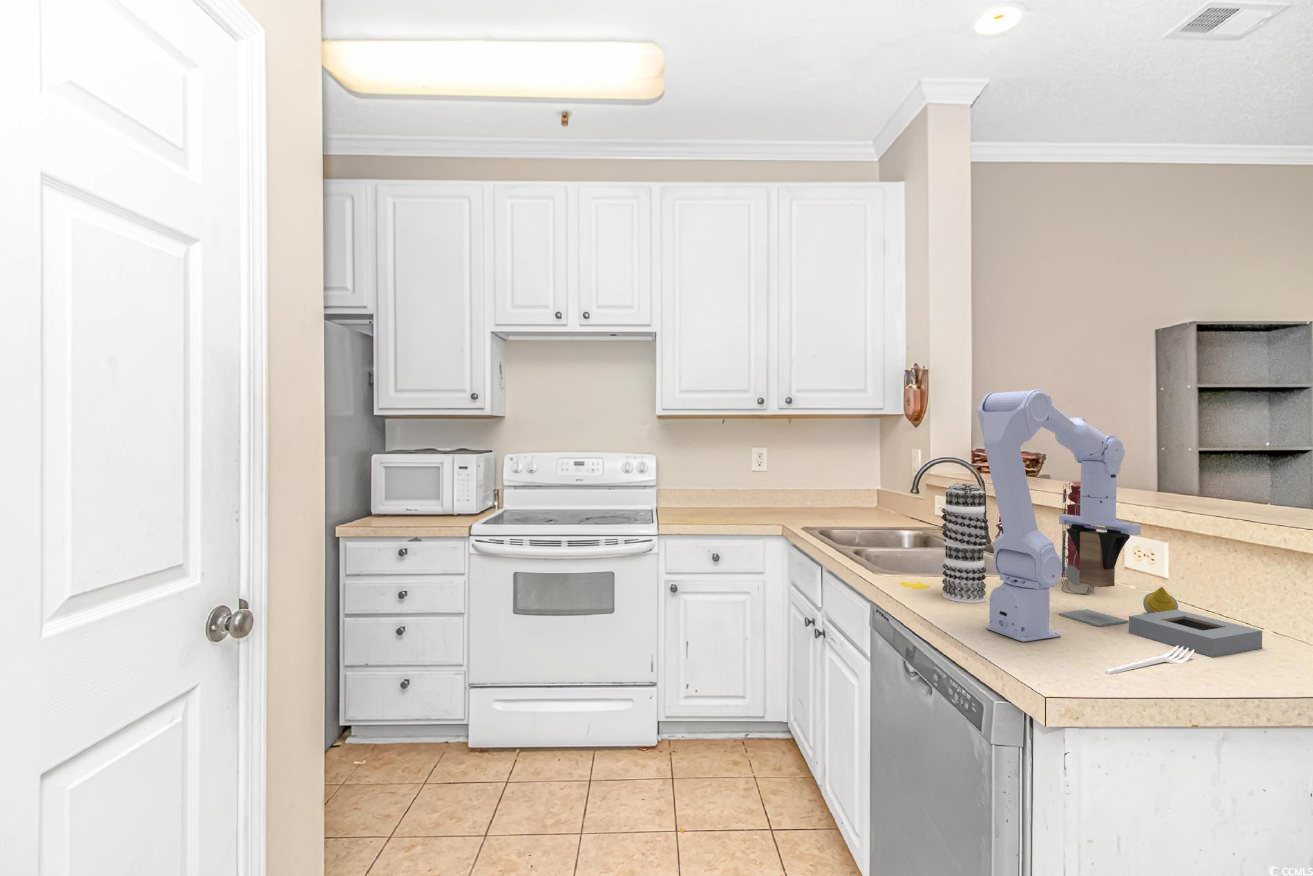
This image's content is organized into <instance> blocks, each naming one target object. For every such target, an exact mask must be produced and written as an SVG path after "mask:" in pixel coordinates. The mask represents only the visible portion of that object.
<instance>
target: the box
mask: <svg viewBox="0 0 1313 876" xmlns="http://www.w3.org/2000/svg"><path fill="white" fill-rule="evenodd" d="M1071 484H1072V485H1071ZM1064 486H1065V485H1063V486H1062V489H1063V495H1062V503H1063V504H1064V507H1063V513H1062V515H1064V514H1067V515H1076V516H1080V496H1081V495H1080V489H1081V481H1071V482H1068V484H1067V483H1066V486H1068V489H1069V493H1068V492H1067V488H1064ZM1067 499H1068V500H1069V501H1070V503H1069V504H1067ZM1072 502H1073V503H1072ZM1066 510H1067V511H1066ZM1061 525H1062V526H1061V527H1062V529H1061V530H1062V531H1061V533H1062V534H1061V535H1062V536H1061V537H1062V538H1061V540H1062V541H1061V542H1062V543H1061V549H1062V553H1061V562H1062V575H1061V579H1062V581H1064V582H1067V583H1066V584H1068V582H1069V583H1070V584H1071V585H1074V586H1079V587H1080V586H1083V585H1084V584H1083V583H1079V573H1080V560H1079V556H1078V553H1077V550H1076V547H1075V545H1074V542H1073V540H1072V539H1071V537H1070V535H1069V534H1068V533H1066V532H1067V527H1068V528H1071V527H1072V525H1063V524H1061ZM1085 525H1089V524H1085ZM1066 536H1067V547H1066ZM1066 550H1067V554H1066ZM1066 555H1067V556H1066ZM1065 563H1066V566H1065ZM1064 577H1065V578H1066V579H1065V578H1064ZM1064 582H1061V585H1062V587H1061V591H1062V592H1064V593H1068V594H1069V593H1070V592H1071V593H1072V594H1073V595H1074V594H1075V595H1084V596H1085V595H1086V596H1088V595H1089V593H1091V592H1092V590H1090V587H1088V589H1087V591H1086V593H1079V592H1076V591H1072V590H1071V589H1070V588H1069V586H1068V585H1066V587H1067V589H1068V590H1069V591H1070V592H1068V591H1065V590H1063V588H1064V584H1065V583H1064ZM1089 590H1090V591H1089ZM1088 592H1089V593H1088Z"/></svg>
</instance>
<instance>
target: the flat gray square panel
mask: <svg viewBox="0 0 1313 876" xmlns="http://www.w3.org/2000/svg"><path fill="white" fill-rule="evenodd" d="M1058 616H1062V617H1065V618H1067V619H1070V620H1071V619H1072V620H1074V621H1077V622H1082V623H1084V624H1087V625H1091V626H1095V627H1098V628H1101V627H1107V626H1109V627H1110V626H1114V625H1115V626H1116V625H1122V624H1129V619H1128V620H1127V619H1124V618H1120V617H1117V616H1113V615H1109V614H1105V613H1103V612H1099V611H1095V610H1092V609H1088V608H1086V609H1078V610H1070V611H1064V612H1062V611H1061V612H1059V613H1058Z"/></svg>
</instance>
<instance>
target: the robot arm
mask: <svg viewBox="0 0 1313 876" xmlns="http://www.w3.org/2000/svg"><path fill="white" fill-rule="evenodd" d="M976 411H977V414H978V415H977V416H978V419H979V424H980V428H981V434H982V437H983V445H984V451H985V455H986V460H987V464H988V469H989V472H990V478H991V482H992V486H993V491H994V495H995V499H996V500H995V501H996V503H997V509H998V514H999V518H1000V523H1001V527H1002V530H1003V533H1002V534H1000V535H999V536H998V537H996V538H995V539H994V541H993V542H992V548H993V557H992V562H993V563H992V565H993V569H994V570H995V572H996V574H997V575H999V580H1000V581H1002V582H1003V583H1002V584H1000V586H997V587H995V588H994V589H992V591H991V593H990V595H989V624H988V625H985V629H987V630H989V631H993V632H995V633H998V634H1000V635H1003V636H1005V637H1009V638H1010V639H1011V638H1012V639H1015V640H1017V641H1019V642H1023V643H1024V642H1030V641H1037V640H1044V639H1053V638H1057V637H1062V633H1061V632H1058V631H1055V630H1052V629H1050V607H1051V606H1050V601H1051V599H1050V598H1051V597H1050V595H1051V593H1050V592H1051V588H1054V587H1055V585H1056V584H1057V583H1058V582H1059V581H1060V579H1061V578H1062V558H1060V555H1058V553H1057V551H1056V549H1055V544H1054V542H1053V541H1052V539H1050V538H1049V537H1047V536H1046V535H1045V534H1044V533H1042V532H1041V531H1039V529H1038V524H1037V520H1036V516H1035V515H1036V514H1035V510H1034V505H1033V501H1032V497H1031V492H1030V491H1031V490H1030V487H1029V483H1028V479H1027V478H1028V477H1027V474H1026V469H1025V464H1024V460H1023V459H1024V458H1023V454H1022V450H1021V447H1022V445H1023V444H1024V443H1026V442H1028V441H1030V440H1031V439H1032V438H1033V437H1034V436H1035V435H1036V434H1037V433H1038V432H1039V430H1040V429H1041V428H1044V429H1046V430H1048V431H1049V432H1051V433H1053V434H1054V438H1055V441H1056V442H1057V443H1058V444H1059V445H1060V446H1061V445H1062V447H1064V448H1065V449H1067V450H1069V451H1070V453H1072V454H1073V457H1074V459H1075V461H1076V463H1078V464H1080V482H1081V489H1080V495H1081V496H1080V516H1076V515H1067V513H1066V514H1064V513H1063V514H1064V515H1063V514H1059V516H1058V521H1059V522H1058V524H1059V525H1062V524H1063V526H1065V525H1066V526H1067V525H1072V527H1071V528H1069V527H1066V529H1067V531H1066V533H1067V535H1068V534H1069V535H1070V537H1071V539H1072V540H1073V542H1074V545H1075V547H1076V550H1077V553H1078V556H1079V560H1080V532H1087V531H1097V530H1100V531H1098V532H1099V533H1098V535H1099V538H1100V541H1101V545H1102V551H1103V567H1104V569H1106V570H1109V569H1114V568H1115V569H1116V564H1117V561H1118V558H1119V556H1120V555H1121V554H1120V553H1121V552H1122V549H1123V547H1124V546H1125V545H1126V543H1127V542H1128V540H1129V539H1130V538H1131V536H1141V535H1142V534H1141V527H1142V525H1141V524H1139V523H1133V522H1128V521H1127V522H1126V521H1123V520H1118V519H1117V487H1118V485H1117V481H1118V479H1117V477H1118V476H1117V475H1119V474H1120V472H1121V467H1122V466H1121V465H1122V462H1123V460H1124V457H1125V451H1126V450H1125V449H1124V444H1123V442H1122V441H1121V439H1120V438H1118V437H1116V436H1115V435H1105V434H1104V433H1102V432H1101V430H1100V429H1098V428H1095V427H1093V426H1092V425H1091V424H1089V423H1087V419H1086V418H1084V417H1068V416H1067V415H1066V414H1064V413H1063V412H1062V411H1061V410H1059V409H1058V408H1057V407H1056V406H1055V405H1054V404H1053V400H1052V397H1051V395H1049V394H1047V393H1046V392H1044V391H1043V390H1041V389H1032V390H1021V391H1005V392H1003V391H1002V392H997V391H992V392H988V393H986V394H985V396H984V397H983V398H982V400H981V402H980V404H979V406H978V407H977V409H976ZM1085 524H1089V525H1085Z"/></svg>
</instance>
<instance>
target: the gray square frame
mask: <svg viewBox="0 0 1313 876" xmlns="http://www.w3.org/2000/svg"><path fill="white" fill-rule="evenodd" d="M1129 633H1130V634H1132V635H1136V636H1139V637H1143V638H1147V639H1150V640H1153V641H1156V642H1161V643H1162V644H1163V643H1164V644H1167V645H1168V646H1169V645H1170V646H1173V647H1176V646H1177V645H1179V647H1178V648H1179V649H1180V648H1181V647H1184V648H1183V649H1184V650H1186V649H1187V648H1189V650H1188V651H1190V652H1191V651H1192V650H1193V649H1194V653H1196V654H1200V655H1204V656H1207V657H1210V658H1215V657H1221V656H1228V655H1232V654H1239V653H1243V652H1249V651H1253V650H1259V649H1263V630H1261V629H1259V628H1258V629H1257V628H1252V627H1249V626H1245V625H1241V624H1238V623H1237V624H1236V623H1233V622H1229V621H1225V620H1220V619H1216V618H1212V617H1209V616H1204V615H1201V614H1197V613H1196V614H1195V613H1192V612H1188V611H1184V610H1180V609H1178V610H1170V611H1162V612H1155V613H1148V612H1147V613H1141V614H1135V615H1128V634H1129Z"/></svg>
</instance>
